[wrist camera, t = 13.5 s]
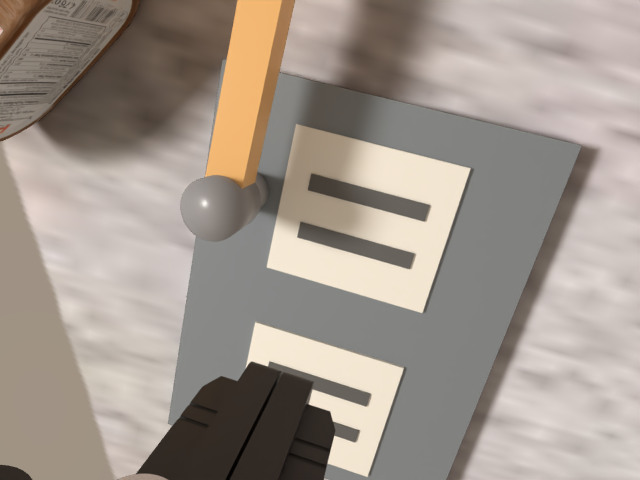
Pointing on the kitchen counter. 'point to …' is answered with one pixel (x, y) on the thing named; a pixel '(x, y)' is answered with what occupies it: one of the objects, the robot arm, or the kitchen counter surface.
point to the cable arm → (240, 122)
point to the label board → (375, 270)
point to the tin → (51, 52)
